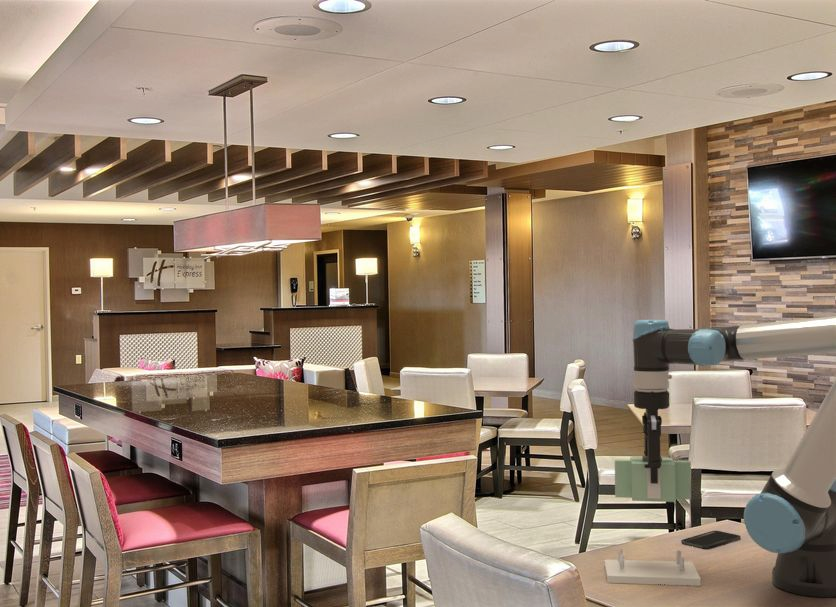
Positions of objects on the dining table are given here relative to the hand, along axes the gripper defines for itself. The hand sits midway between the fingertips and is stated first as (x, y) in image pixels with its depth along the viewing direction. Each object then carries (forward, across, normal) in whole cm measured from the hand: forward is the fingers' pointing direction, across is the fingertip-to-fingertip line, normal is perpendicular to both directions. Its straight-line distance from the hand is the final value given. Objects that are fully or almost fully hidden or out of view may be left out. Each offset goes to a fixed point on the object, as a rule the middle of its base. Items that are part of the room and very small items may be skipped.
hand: (652, 493), depth 194 cm
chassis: (+17, -2, +1) cm, 18 cm away
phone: (+18, +28, -16) cm, 37 cm away
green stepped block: (+1, 0, 0) cm, 1 cm away
